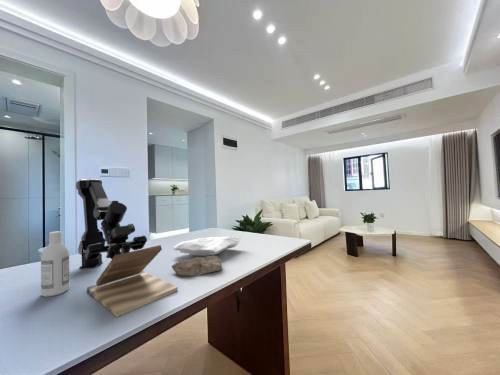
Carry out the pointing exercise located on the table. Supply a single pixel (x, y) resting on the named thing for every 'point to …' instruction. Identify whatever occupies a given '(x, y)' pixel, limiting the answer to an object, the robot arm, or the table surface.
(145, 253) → the walnut plank
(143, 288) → the oak floor board
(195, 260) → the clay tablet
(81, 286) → the table surface
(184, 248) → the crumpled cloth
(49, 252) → the bath foam
